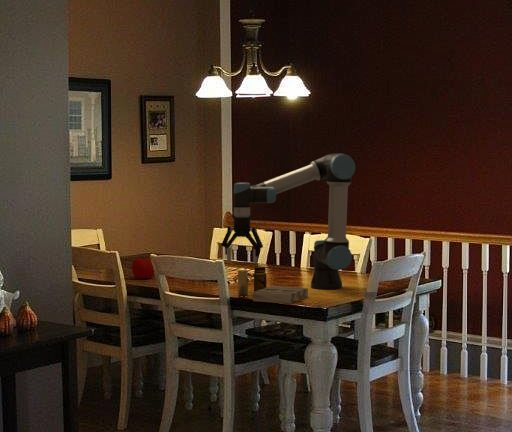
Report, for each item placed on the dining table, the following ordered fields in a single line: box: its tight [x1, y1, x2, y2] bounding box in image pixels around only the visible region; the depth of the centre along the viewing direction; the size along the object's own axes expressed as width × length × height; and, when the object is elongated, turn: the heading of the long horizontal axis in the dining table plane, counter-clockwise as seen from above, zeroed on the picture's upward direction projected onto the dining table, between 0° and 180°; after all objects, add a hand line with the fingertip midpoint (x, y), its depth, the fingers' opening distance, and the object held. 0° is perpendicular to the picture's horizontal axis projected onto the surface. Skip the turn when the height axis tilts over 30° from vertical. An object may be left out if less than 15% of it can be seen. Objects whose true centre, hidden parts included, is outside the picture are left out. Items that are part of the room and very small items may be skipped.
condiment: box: [250, 266, 268, 292], centre depth 468 cm, size 7×8×12 cm
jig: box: [252, 285, 309, 305], centre depth 448 cm, size 20×18×4 cm
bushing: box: [237, 269, 249, 298], centre depth 456 cm, size 4×4×12 cm
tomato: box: [131, 256, 155, 280], centre depth 519 cm, size 12×13×12 cm
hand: (242, 262), depth 455 cm, fingers open, 13 cm apart
